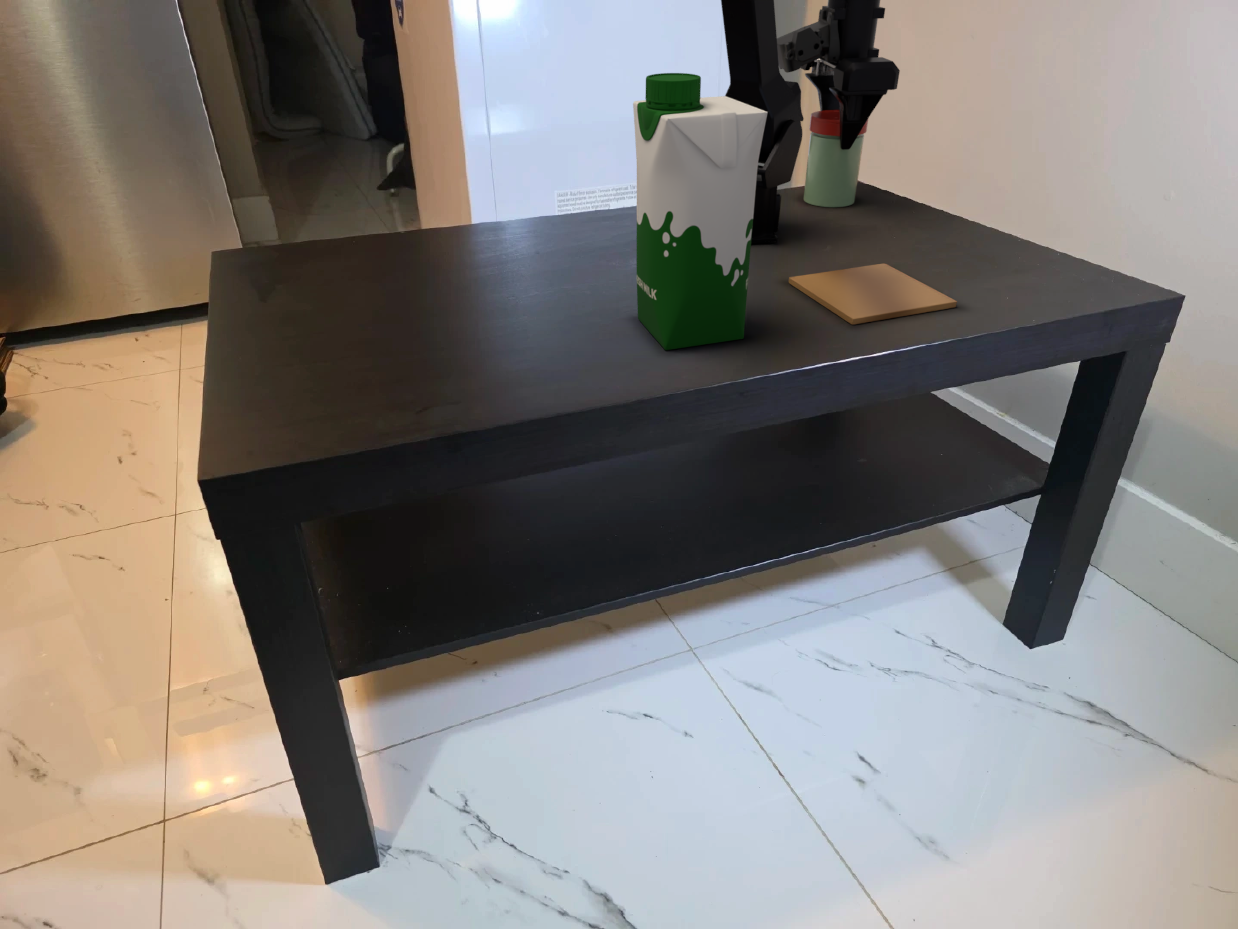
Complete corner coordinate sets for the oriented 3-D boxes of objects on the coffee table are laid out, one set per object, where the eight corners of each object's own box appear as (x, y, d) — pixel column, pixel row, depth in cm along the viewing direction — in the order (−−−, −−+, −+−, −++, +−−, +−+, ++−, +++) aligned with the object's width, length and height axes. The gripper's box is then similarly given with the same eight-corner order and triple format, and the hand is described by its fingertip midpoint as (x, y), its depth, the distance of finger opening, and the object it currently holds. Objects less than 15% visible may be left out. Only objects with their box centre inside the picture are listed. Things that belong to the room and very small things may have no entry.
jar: (811, 208, 101) (820, 126, 96) (797, 194, 106) (805, 116, 101) (861, 206, 101) (873, 125, 96) (845, 192, 106) (856, 115, 101)
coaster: (852, 325, 71) (853, 318, 70) (788, 282, 79) (788, 276, 79) (956, 307, 74) (957, 301, 73) (883, 268, 82) (884, 262, 82)
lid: (874, 135, 96) (877, 119, 95) (818, 136, 96) (820, 121, 95) (856, 124, 102) (858, 109, 101) (802, 125, 102) (804, 110, 101)
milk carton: (624, 316, 73) (623, 70, 62) (717, 304, 75) (732, 64, 64) (658, 357, 66) (663, 87, 55) (760, 341, 68) (784, 79, 57)
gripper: (764, -8, 99) (755, 129, 107) (806, 5, 83) (791, 163, 92) (854, -10, 99) (838, 126, 108) (912, 2, 84) (887, 159, 92)
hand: (836, 142), depth 100 cm, fingers closed on lid, 7 cm apart
